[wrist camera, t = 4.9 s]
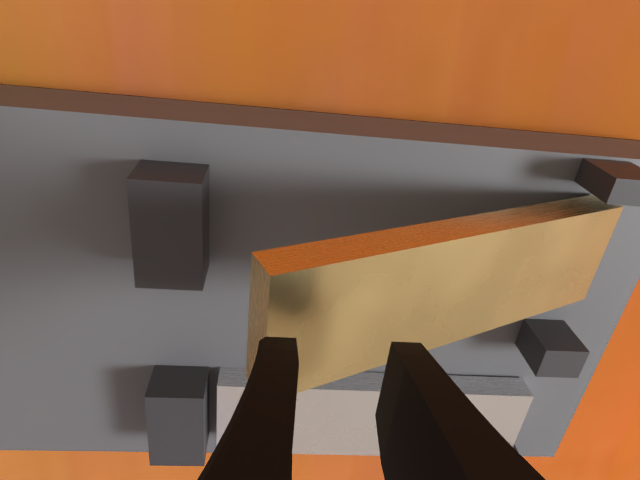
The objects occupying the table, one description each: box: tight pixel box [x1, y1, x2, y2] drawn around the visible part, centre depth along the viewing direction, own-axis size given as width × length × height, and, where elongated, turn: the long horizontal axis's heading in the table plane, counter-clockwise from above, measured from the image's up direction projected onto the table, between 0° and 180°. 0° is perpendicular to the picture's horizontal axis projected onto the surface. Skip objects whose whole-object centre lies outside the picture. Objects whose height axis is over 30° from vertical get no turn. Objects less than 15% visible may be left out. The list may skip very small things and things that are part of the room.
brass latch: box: [246, 195, 624, 393], centre depth 14 cm, size 12×4×1 cm, turn 83°
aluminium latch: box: [216, 367, 534, 456], centre depth 20 cm, size 12×4×1 cm, turn 84°
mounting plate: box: [0, 84, 640, 466], centre depth 18 cm, size 14×24×4 cm, turn 84°
